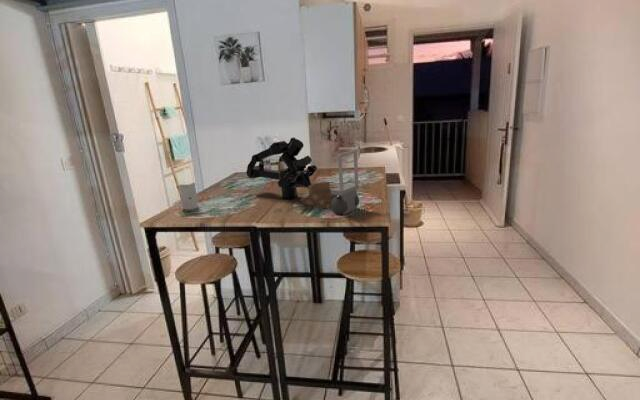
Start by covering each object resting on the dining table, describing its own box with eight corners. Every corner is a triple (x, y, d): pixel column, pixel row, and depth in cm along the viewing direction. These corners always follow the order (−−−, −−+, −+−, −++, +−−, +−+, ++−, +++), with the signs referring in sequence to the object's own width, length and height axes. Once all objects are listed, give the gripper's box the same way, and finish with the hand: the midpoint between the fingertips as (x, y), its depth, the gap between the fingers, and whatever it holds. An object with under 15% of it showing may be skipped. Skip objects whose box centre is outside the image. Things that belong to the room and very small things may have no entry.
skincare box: (182, 209, 162) (177, 184, 159) (188, 206, 166) (184, 182, 163) (193, 209, 160) (188, 184, 157) (199, 206, 164) (195, 182, 161)
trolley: (330, 213, 141) (326, 153, 134) (346, 206, 149) (343, 149, 143) (344, 216, 137) (340, 154, 130) (360, 208, 145) (358, 149, 138)
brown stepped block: (301, 203, 158) (300, 184, 155) (315, 198, 165) (314, 180, 162) (329, 208, 148) (327, 188, 145) (342, 202, 155) (341, 183, 152)
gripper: (284, 154, 150) (305, 181, 146) (312, 148, 164) (332, 172, 160) (274, 170, 157) (293, 196, 153) (302, 163, 171) (320, 187, 167)
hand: (311, 187), depth 158 cm, fingers closed
